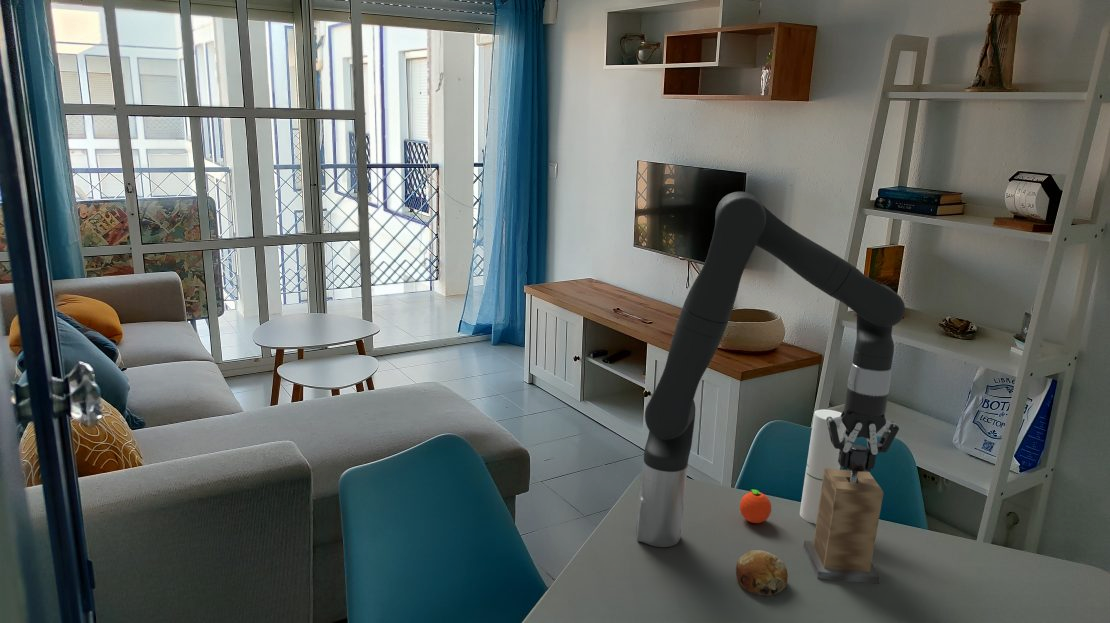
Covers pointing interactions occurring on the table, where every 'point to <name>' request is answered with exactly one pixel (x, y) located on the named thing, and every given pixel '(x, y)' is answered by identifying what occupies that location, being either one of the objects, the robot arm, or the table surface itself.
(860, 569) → the box
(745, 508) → the clementine
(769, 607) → the table surface
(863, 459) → the plunger
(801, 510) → the cylindrical container
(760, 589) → the bread roll
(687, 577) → the table surface
